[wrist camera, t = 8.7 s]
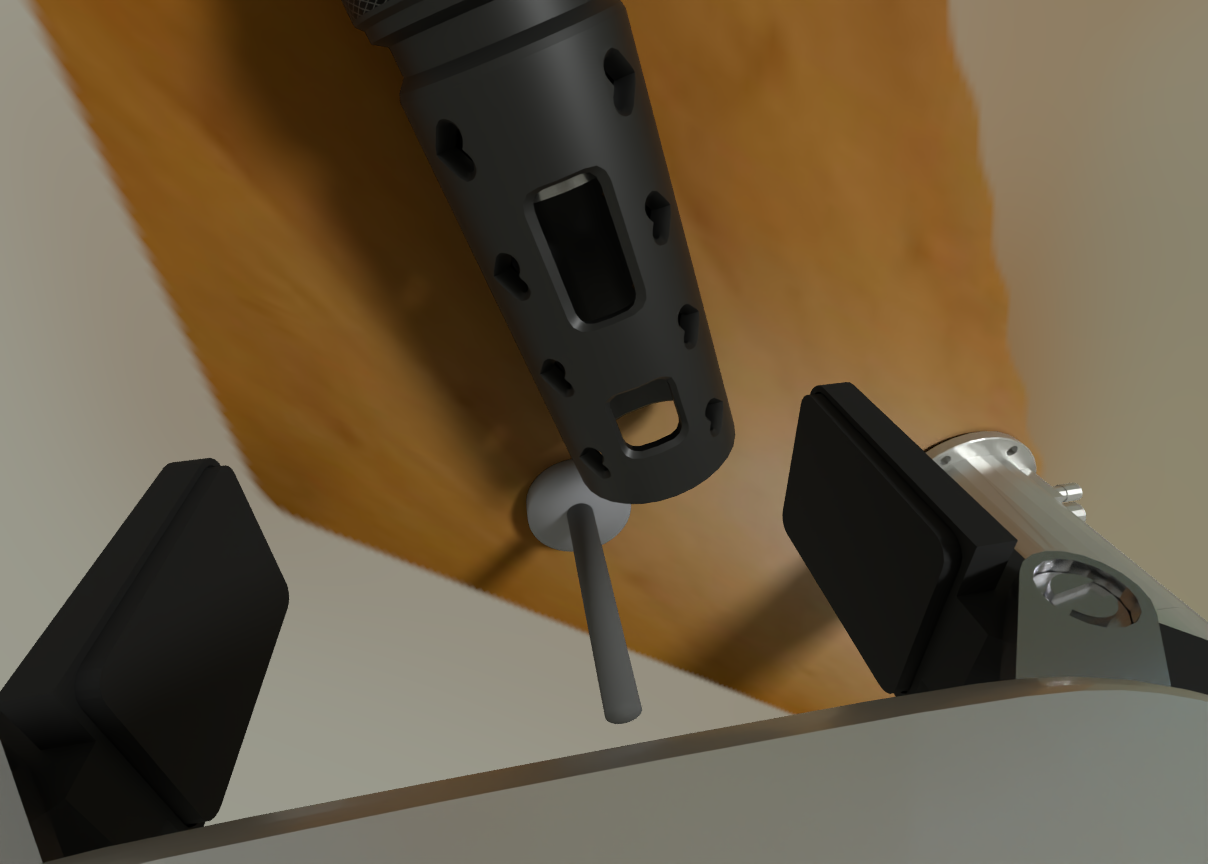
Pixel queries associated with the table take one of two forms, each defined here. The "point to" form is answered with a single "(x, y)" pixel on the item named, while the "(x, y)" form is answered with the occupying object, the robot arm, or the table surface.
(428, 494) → the table surface
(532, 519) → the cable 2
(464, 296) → the table surface
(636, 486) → the muzzle brake
